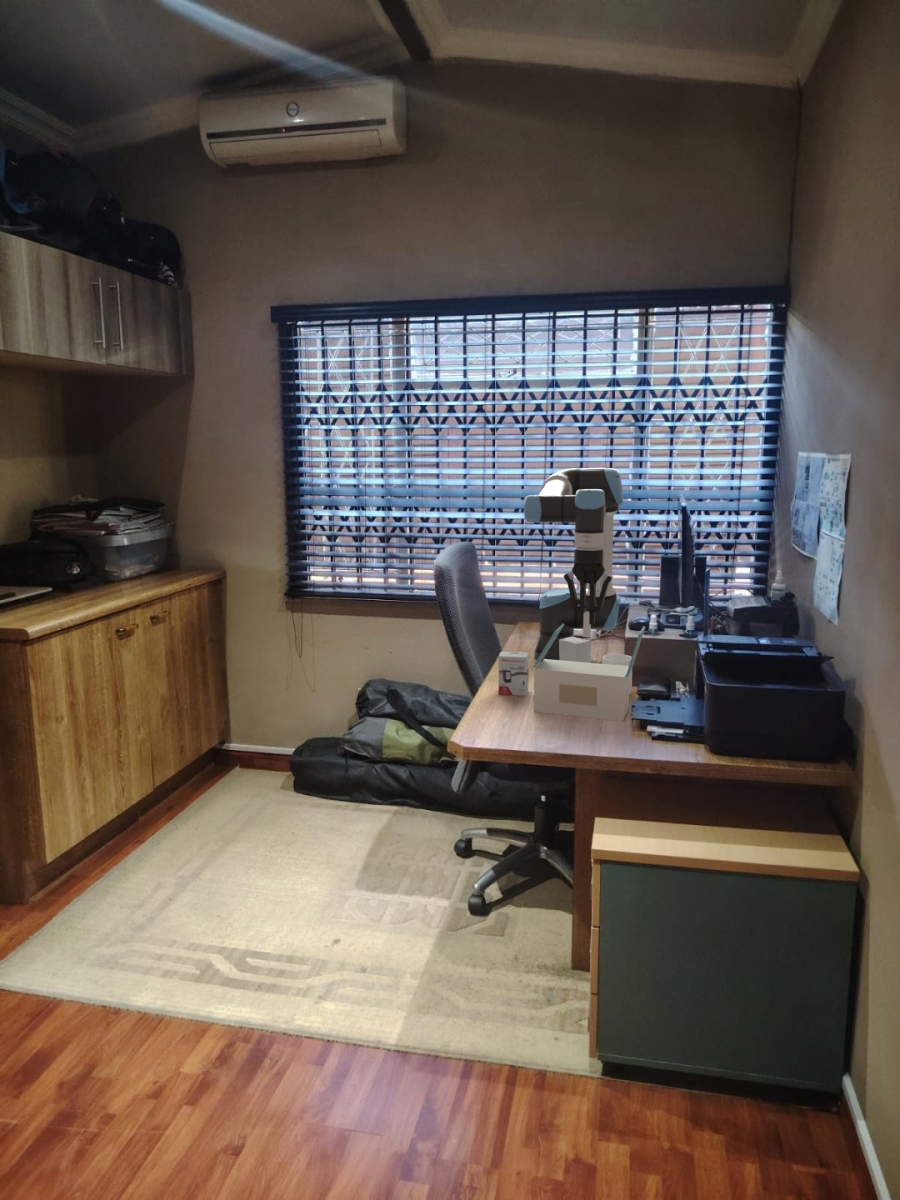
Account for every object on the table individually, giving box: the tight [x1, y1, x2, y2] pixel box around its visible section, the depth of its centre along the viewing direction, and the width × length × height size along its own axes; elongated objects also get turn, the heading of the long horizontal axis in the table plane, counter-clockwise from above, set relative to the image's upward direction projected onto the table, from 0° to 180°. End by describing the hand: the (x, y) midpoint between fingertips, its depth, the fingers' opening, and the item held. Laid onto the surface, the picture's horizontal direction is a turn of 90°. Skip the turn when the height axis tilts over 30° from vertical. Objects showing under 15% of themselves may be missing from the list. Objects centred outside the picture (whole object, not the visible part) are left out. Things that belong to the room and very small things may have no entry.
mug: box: [601, 653, 633, 696], centre depth 224 cm, size 9×12×11 cm
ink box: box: [497, 651, 530, 697], centre depth 227 cm, size 9×5×12 cm, turn 79°
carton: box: [533, 659, 630, 722], centre depth 211 cm, size 11×24×12 cm, turn 69°
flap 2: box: [626, 625, 646, 677], centre depth 204 cm, size 12×10×1 cm
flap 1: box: [532, 624, 564, 669], centre depth 212 cm, size 12×10×1 cm
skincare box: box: [559, 636, 592, 663], centre depth 231 cm, size 8×6×15 cm
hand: (586, 635), depth 208 cm, fingers closed
